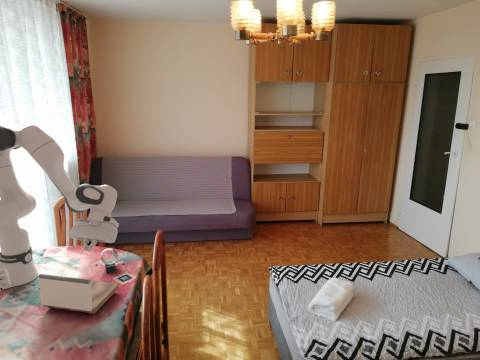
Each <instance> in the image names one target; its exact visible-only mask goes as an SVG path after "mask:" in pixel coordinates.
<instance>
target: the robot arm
mask: <svg viewBox="0 0 480 360" xmlns="http://www.w3.org/2000/svg"><path fill="white" fill-rule="evenodd" d="M20 148H22V149H24V150H25V151H26V152H27V153H28V154H29V156H31V158H32V159H33V160H34V161H35V162H36V163H37V165H39V166H40V167H41V169H42V170H43V172H44V173H45V174H46V175H47V177H48V178H49V179H50V180H49V181H51V182H52V183H53V185H54V186H55V187H56V189H57V190H58V191H59V192H60V194H61V195H62V197H63V198H64V201H65V205H66V207H67V209H68V210H70V211H71V212H72V213H75V214H83V213H85V212H87V211H88V210H89V209H90V211H89V214H88V216H87V218H79V219H76V220H75V221H74V223H73V225H72V227H71V229H70V230H69V231H68V237H69V238H70V239H72V240H77V241H78V240H79V241H82V242H83V248H82V250H83V251H85V252H92V251H93V250H92V249H93V248H94V247H95V246H96V245H97V243H98V242H99V243H106V244H107V243H109V244H113V243H115V241H116V240H117V237H118V233H119V231H118V228H119V225H120V223H119V222H117V220H116V219H115V218H113V217H112V211H113V210H114V209H115V206H116V202H117V198H118V191H117V190H116V189H115V188H114V187H113V186H112V185H109V184H101V185H92V184H90V183H83V184H80V185H78V186H77V187H76V186H75V185H74V183H73V182H72V181H71V179H70V178H69V176H68V175H67V174H66V172H65V168H64V167H65V166H64V165H65V163H64V161H65V153H64V151H63V149H62V148H61V146H60V145H59V144H58V143H57V141H55V139H54V138H53V136H51V135H50V134H49V133H48V132H47V131H46V130H45V129H43V128H42V127H41V126H39V125H38V124H35V123H31V124H30V123H29V124H25V123H24V122H19V121H11V122H10V121H8V122H0V289H1V288H2V290H6V289H9V288H13V287H18V286H22V285H23V286H24V285H26V284H28V283H30V282H32V281H34V280H35V279H36V278H38V277H39V272H38V267H37V266H36V263H35V260H34V257H33V249H32V246H31V244H30V235H29V232H28V231H27V229H25V228H21V227H20V226H19V220H21V219H23V218H25V217H26V216H29V215H30V214H31V213H32V212H34V211H35V209H36V207H37V201H36V198H35V197H34V196H33V195H32V194H31V193H28V192H27V191H25V190H24V188H23V187H22V186H21V185H20V183H19V181H18V179H17V176H16V173H15V170H14V166H13V163H12V159H11V151H12V150H17V149H20ZM40 167H39V168H40ZM90 242H91V243H90ZM89 243H90V244H89ZM88 244H89V245H88Z"/></svg>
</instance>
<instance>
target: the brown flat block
mask: <svg viewBox="0 0 480 360" xmlns="http://www.w3.org/2000/svg"><path fill="white" fill-rule="evenodd" d="M119 288H120V286H119V283H115V282H108V281H107V282H105V281H97V280H91V294H92V310H91V311H85V310H77V309H70V308H63V307H56V306H48V305H43V307H44V308H48V309H52V310H54V309H58V310H59V309H60V310H68V311H74V312H82V313H87V314H89V315H96V314H97V313H98V311H99V310H100V309H101V307H103V305H104V304H105V303H106V302H107V301H108V300H109V299H110V298H111V297H112V296H114V295H115V293H116V291H118V289H119Z"/></svg>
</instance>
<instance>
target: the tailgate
mask: <svg viewBox="0 0 480 360" xmlns="http://www.w3.org/2000/svg"><path fill="white" fill-rule="evenodd" d="M38 279H39V280H38V281H39V293H40V294H39V295H40V303H41V304H40V305H41V306H42V305H43V306H44V305H48V306H56V307H63V308H70V309H77V310H85V311H91V310H92V294H91V281H92V279H85V278H78V277H68V276H62V275H52V274H46V273H45V274H44V273H39V274H38Z"/></svg>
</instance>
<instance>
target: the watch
mask: <svg viewBox="0 0 480 360" xmlns="http://www.w3.org/2000/svg"><path fill="white" fill-rule="evenodd" d="M108 251H109V252H110V253H111V254H112V256H113V257H114V258H115V259H114V260H110V261H106V259H104V257H103V254H104V253H106V252H108ZM118 259H119V254H118V252H117V251H116V249H115V248H114V247H108V248H107V247H106V248H105V249H103V250H102V251H101V253H100V260H101V262H102V263H103V264H104V268H105V273H106V274H109V273H115V272H116V262H118Z"/></svg>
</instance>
